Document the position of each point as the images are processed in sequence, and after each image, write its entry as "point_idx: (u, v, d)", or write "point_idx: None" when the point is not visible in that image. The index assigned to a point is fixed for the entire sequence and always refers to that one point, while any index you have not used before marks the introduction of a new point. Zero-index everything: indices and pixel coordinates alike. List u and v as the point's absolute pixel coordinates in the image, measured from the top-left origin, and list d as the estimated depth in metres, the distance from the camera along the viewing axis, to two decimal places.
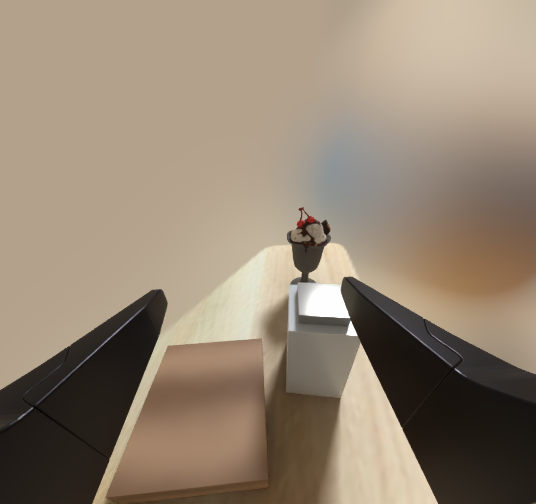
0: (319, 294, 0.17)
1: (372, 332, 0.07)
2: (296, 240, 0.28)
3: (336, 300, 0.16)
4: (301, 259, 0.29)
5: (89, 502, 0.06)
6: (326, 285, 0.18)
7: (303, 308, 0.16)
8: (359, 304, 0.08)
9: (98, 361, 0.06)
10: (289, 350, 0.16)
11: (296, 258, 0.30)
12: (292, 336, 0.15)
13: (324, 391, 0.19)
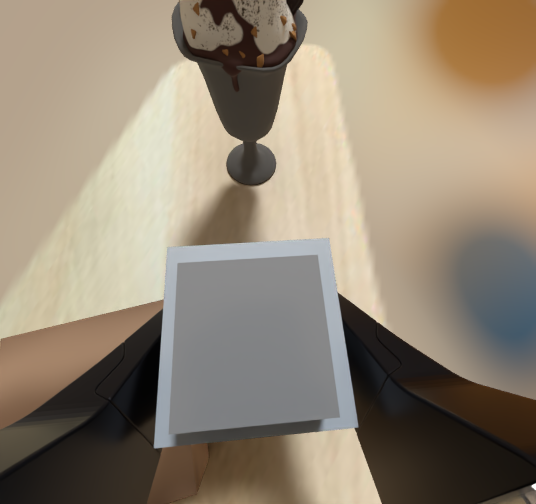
0: (248, 315, 0.05)
1: None
2: (198, 43, 0.09)
3: (300, 338, 0.05)
4: (231, 112, 0.12)
5: (146, 496, 0.06)
6: (274, 267, 0.05)
7: (187, 397, 0.05)
8: None
9: (153, 356, 0.06)
10: None
11: (219, 108, 0.12)
12: None
13: None
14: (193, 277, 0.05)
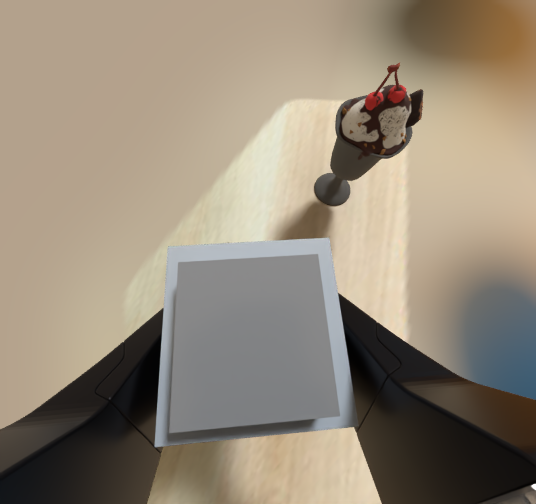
0: (248, 314, 0.05)
1: None
2: (351, 136, 0.16)
3: (300, 338, 0.05)
4: (346, 166, 0.19)
5: (146, 495, 0.06)
6: (275, 266, 0.05)
7: (187, 396, 0.05)
8: None
9: (153, 356, 0.06)
10: None
11: (338, 161, 0.19)
12: None
13: None
14: (194, 276, 0.05)
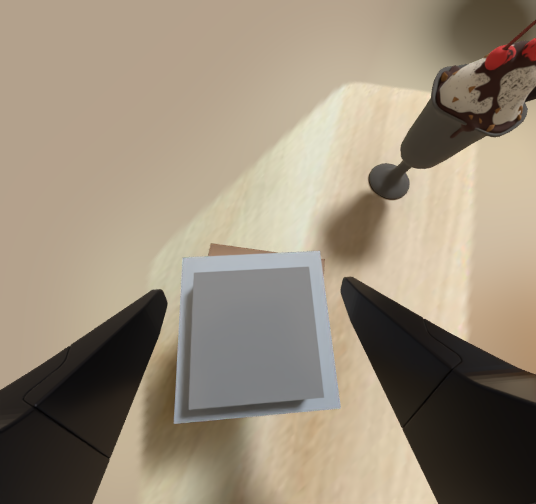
0: (251, 316, 0.06)
1: (372, 332, 0.07)
2: (453, 105, 0.13)
3: (293, 335, 0.06)
4: (428, 147, 0.16)
5: (89, 502, 0.06)
6: (273, 276, 0.07)
7: (202, 381, 0.06)
8: (359, 304, 0.08)
9: (98, 361, 0.06)
10: None
11: (417, 141, 0.16)
12: None
13: None
14: (207, 284, 0.06)
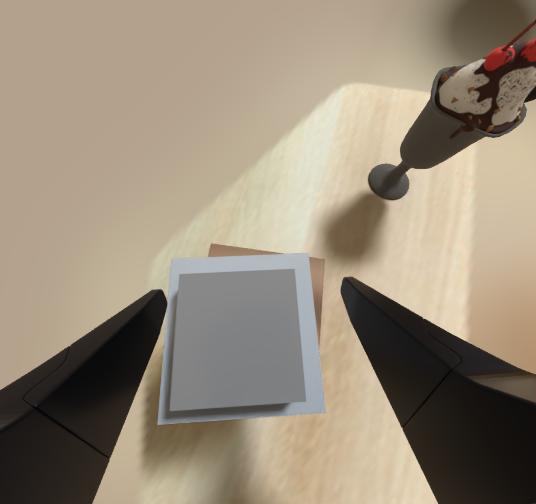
0: (235, 317, 0.06)
1: (372, 332, 0.07)
2: (452, 106, 0.13)
3: (276, 338, 0.06)
4: (427, 148, 0.16)
5: (89, 502, 0.06)
6: (258, 278, 0.07)
7: (184, 382, 0.06)
8: (359, 304, 0.08)
9: (98, 361, 0.06)
10: None
11: (417, 141, 0.17)
12: None
13: None
14: (191, 286, 0.06)
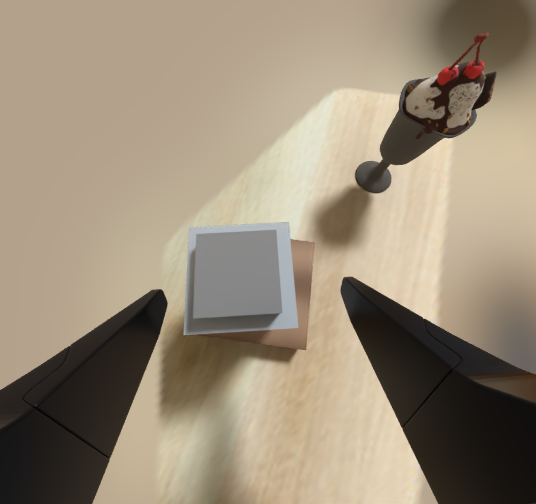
0: (235, 262, 0.09)
1: (372, 332, 0.07)
2: (415, 112, 0.16)
3: (263, 274, 0.09)
4: (400, 146, 0.19)
5: (89, 502, 0.06)
6: (250, 236, 0.09)
7: (202, 301, 0.09)
8: (359, 304, 0.08)
9: (98, 361, 0.06)
10: None
11: (392, 141, 0.19)
12: None
13: None
14: (205, 241, 0.09)
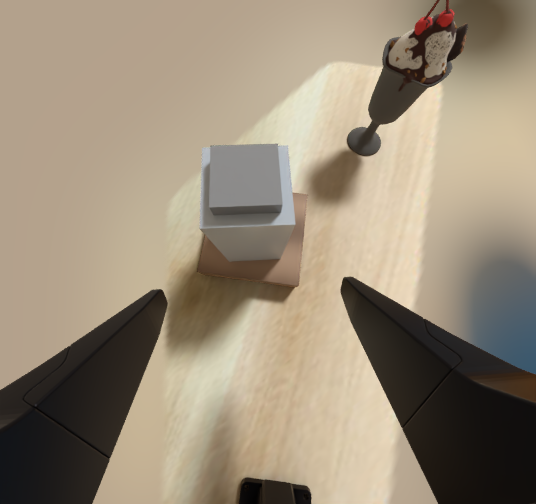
0: (243, 166, 0.11)
1: (372, 332, 0.07)
2: (396, 63, 0.18)
3: (267, 176, 0.11)
4: (385, 102, 0.21)
5: (89, 502, 0.06)
6: (256, 148, 0.11)
7: (216, 195, 0.10)
8: (359, 304, 0.08)
9: (98, 361, 0.06)
10: (213, 241, 0.14)
11: (378, 98, 0.21)
12: (208, 232, 0.12)
13: (264, 257, 0.20)
14: (218, 151, 0.11)
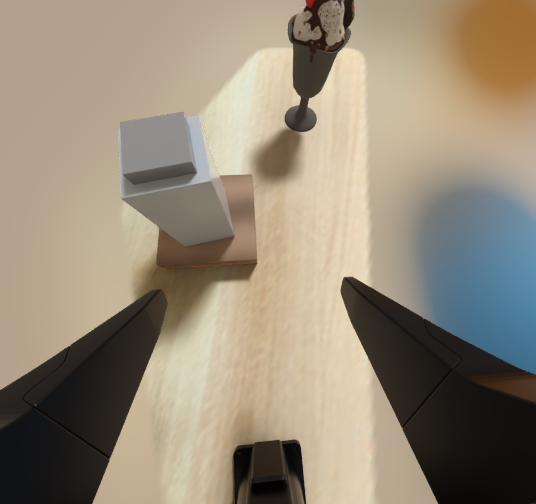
0: (152, 135, 0.12)
1: (372, 332, 0.07)
2: (300, 37, 0.19)
3: (175, 140, 0.12)
4: (303, 75, 0.22)
5: (89, 502, 0.06)
6: (163, 118, 0.12)
7: (128, 163, 0.11)
8: (359, 304, 0.08)
9: (98, 361, 0.06)
10: (148, 216, 0.14)
11: (296, 73, 0.23)
12: (133, 202, 0.12)
13: (217, 236, 0.21)
14: (127, 126, 0.12)
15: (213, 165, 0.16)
